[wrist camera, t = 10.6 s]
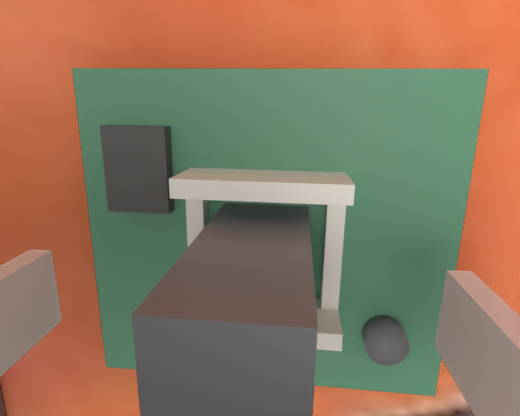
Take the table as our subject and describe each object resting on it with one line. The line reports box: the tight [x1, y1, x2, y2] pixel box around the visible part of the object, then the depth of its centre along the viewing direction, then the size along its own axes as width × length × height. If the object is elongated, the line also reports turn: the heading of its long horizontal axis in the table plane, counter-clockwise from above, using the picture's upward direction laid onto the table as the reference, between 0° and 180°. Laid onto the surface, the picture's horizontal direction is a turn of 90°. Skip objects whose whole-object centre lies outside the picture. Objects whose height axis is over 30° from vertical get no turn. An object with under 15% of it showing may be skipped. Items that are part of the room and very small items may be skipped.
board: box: [72, 68, 489, 396], centre depth 17 cm, size 16×18×4 cm
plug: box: [132, 203, 318, 416], centre depth 13 cm, size 5×4×10 cm
